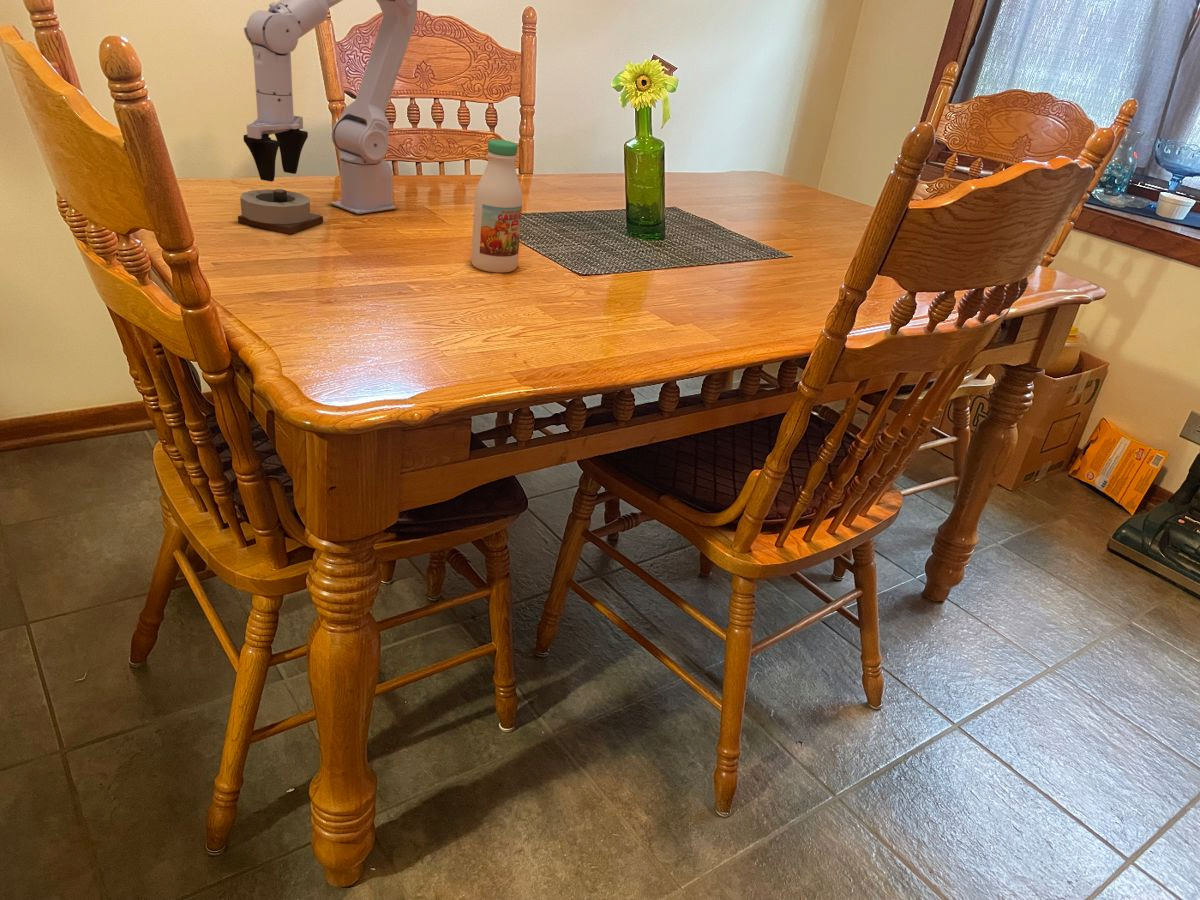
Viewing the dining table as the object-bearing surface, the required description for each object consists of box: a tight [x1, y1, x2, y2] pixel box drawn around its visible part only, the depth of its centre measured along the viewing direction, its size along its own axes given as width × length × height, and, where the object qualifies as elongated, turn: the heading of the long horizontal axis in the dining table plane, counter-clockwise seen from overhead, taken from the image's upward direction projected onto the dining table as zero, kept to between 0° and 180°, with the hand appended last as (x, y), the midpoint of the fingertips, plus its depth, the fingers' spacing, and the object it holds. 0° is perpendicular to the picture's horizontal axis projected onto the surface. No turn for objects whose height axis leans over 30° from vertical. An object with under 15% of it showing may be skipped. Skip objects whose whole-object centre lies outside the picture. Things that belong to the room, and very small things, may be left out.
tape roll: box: [240, 188, 311, 224], centre depth 142 cm, size 11×11×3 cm
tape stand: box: [237, 188, 324, 235], centre depth 142 cm, size 10×10×6 cm
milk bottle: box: [470, 139, 523, 273], centre depth 133 cm, size 8×8×20 cm
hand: (278, 176), depth 143 cm, fingers open, 7 cm apart
